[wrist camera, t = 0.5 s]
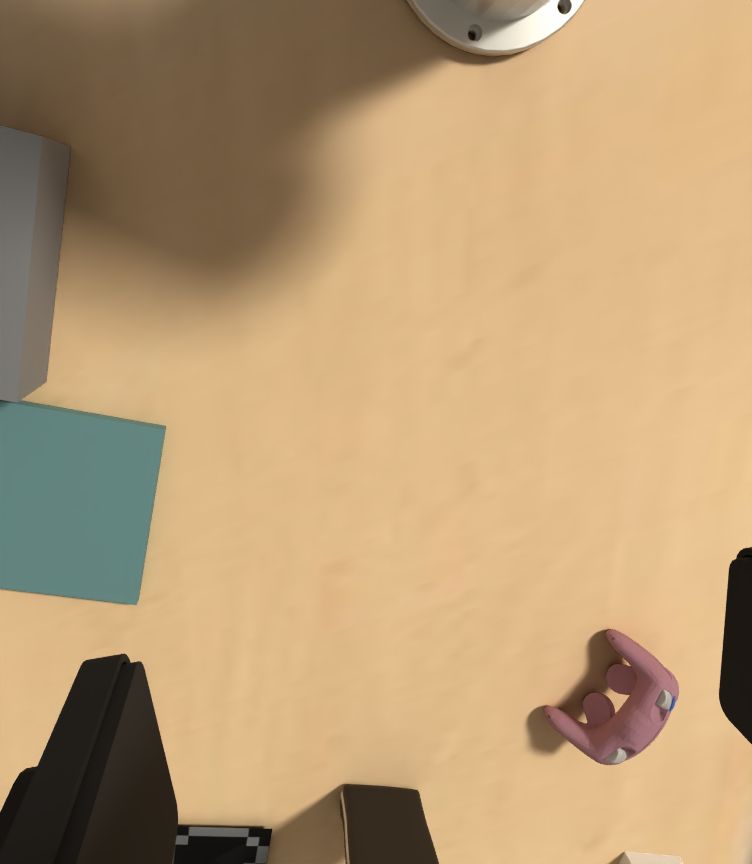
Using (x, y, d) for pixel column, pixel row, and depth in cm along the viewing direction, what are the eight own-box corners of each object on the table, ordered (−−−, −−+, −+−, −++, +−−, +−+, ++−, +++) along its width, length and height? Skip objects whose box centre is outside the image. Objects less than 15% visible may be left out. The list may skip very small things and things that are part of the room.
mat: (-52, 387, 40) (-58, 390, 40) (166, 426, 43) (164, 429, 42) (-64, 573, 44) (-70, 580, 43) (138, 598, 47) (136, 605, 46)
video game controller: (561, 714, 58) (622, 784, 53) (534, 713, 54) (597, 787, 49) (631, 628, 56) (701, 692, 51) (608, 622, 53) (680, 689, 48)
